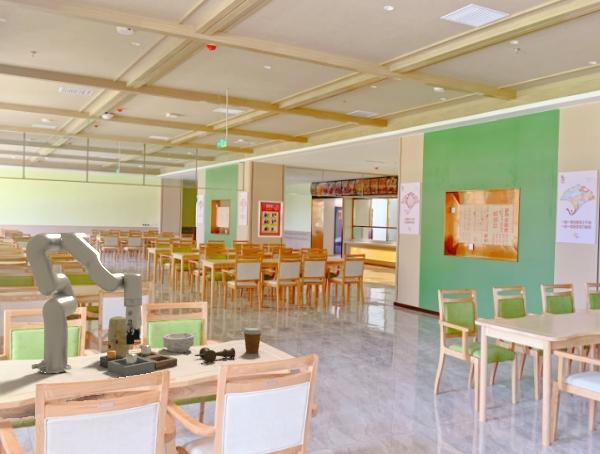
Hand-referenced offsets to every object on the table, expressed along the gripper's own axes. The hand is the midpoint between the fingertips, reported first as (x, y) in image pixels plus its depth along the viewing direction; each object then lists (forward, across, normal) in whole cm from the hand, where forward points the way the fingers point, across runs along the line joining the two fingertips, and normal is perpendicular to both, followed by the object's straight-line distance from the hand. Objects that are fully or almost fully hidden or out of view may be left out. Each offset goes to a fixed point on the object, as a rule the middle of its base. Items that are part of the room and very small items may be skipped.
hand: (133, 341), depth 236 cm
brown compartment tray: (+14, +14, -5) cm, 20 cm away
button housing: (+13, +8, +12) cm, 19 cm away
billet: (+12, 0, +1) cm, 12 cm away
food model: (+13, +25, +13) cm, 31 cm away
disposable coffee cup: (+15, +41, -50) cm, 66 cm away
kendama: (+15, +25, -32) cm, 44 cm away
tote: (+13, 0, +1) cm, 13 cm away
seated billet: (+12, +17, -2) cm, 21 cm away
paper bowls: (+14, +42, -12) cm, 46 cm away
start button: (+10, +8, +12) cm, 17 cm away
